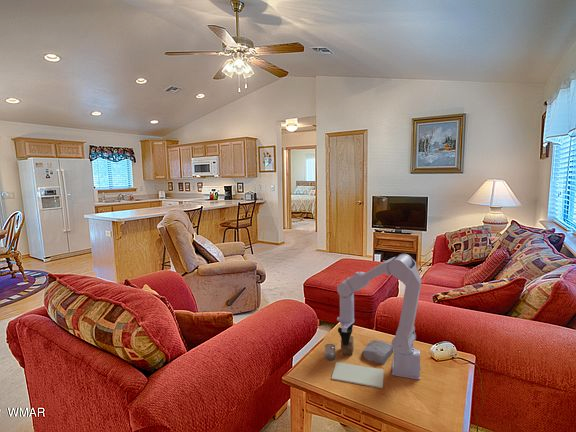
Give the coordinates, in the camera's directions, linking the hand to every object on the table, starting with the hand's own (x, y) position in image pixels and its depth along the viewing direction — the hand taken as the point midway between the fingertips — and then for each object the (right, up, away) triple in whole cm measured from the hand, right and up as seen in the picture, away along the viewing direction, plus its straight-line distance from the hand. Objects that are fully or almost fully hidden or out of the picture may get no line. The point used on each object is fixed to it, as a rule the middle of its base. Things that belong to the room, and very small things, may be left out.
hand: (347, 339), depth 133 cm
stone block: (+12, -6, -1) cm, 14 cm away
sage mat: (+1, -8, -14) cm, 16 cm away
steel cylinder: (-7, -6, -3) cm, 10 cm away
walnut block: (0, -5, +1) cm, 5 cm away
